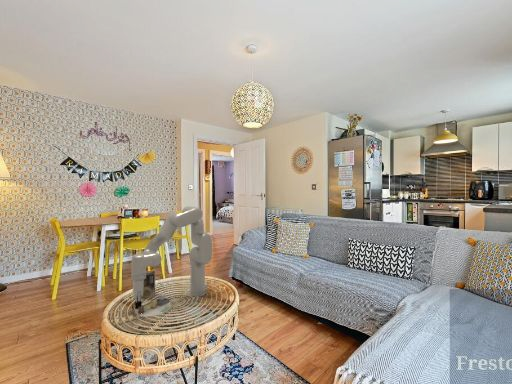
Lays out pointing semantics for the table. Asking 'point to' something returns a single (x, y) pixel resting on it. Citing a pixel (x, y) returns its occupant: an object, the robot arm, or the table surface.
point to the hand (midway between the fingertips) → (138, 308)
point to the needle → (147, 305)
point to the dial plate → (160, 308)
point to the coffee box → (149, 285)
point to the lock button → (161, 297)
